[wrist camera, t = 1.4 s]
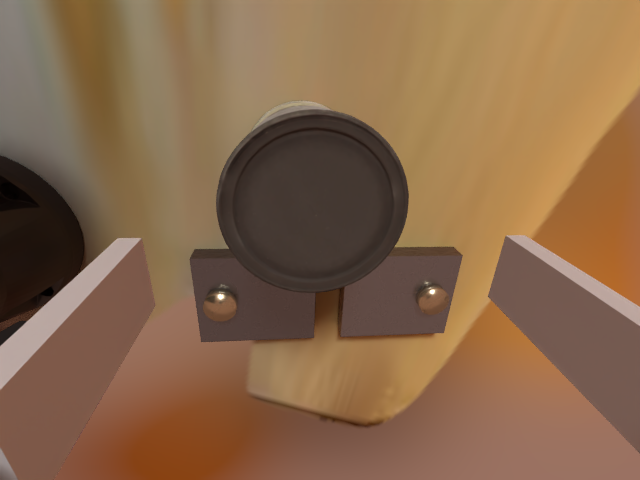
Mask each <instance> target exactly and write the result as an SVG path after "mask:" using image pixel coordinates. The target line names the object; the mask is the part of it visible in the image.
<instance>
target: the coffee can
mask: <svg viewBox="0 0 640 480" xmlns="http://www.w3.org/2000/svg"><path fill="white" fill-rule="evenodd" d="M408 198H409V193H408V186H407V180H406V176H405V173H404V170H403V167H402V165H401V163H400V160H399V158H398V156H397V155H396V153H395V152H394V150H393V149H392V147H391V146H390V144H389V143H388V142H387V141H386V140H385V139H384V138H383V137H382V136H381V135H380V134H379V133H378V132H377V131H375V130H374V129H373V128H372V127H370V126H369V125H367V124H366V123H364V122H362V121H360V120H358V119H356V118H354V117H352V116H350V115H347V114H344V113H340V112H336V111H333V110H331V109H329V108H328V107H326V106H323V105H321V104H318V103H314V102H309V101H293V102H287V103H284V104H281V105H279V106H277V107H275V108H273V109H271V110H270V111H269V112H267V113H266V114H265V115H264V116H263V117H261V119H260V120H259V121H258V122H257V123H256V125H255V126H254V128H253V129H252V131H251V133H249V134H248V135H247V136H246V137H245V138H244V139H243V140H242V141H241V142H240V143H239V145H238V146H237V147H236V148H235V149H234V151H233V152H232V154H231V155H230V157H229V158H228V160H227V162H226V164H225V166H224V168H223V171H222V173H221V176H220V180H219V185H218V190H217V199H216V208H217V217H218V222H219V226H220V230H221V232H222V235H223V238H224V240H225V242H226V244H227V246H228V247H229V249H230V251H231V252H232V254H233V255H234V257H235V258H236V259H237V261H238V262H239V263H240V264H241V265H242V266H243V267H244V268H245V269H246V270H248V271H249V272H250V273H251V274H253V275H254V276H255V277H257V278H259V279H260V280H262V281H264V282H266V283H268V284H270V285H272V286H275V287H278V288H281V289H284V290H288V291H293V292H299V293H319V292H327V291H331V290H336V289H339V288H342V287H345V286H348V285H350V284H352V283H355V282H357V281H359V280H361V279H362V278H364V277H365V276H367V275H368V274H370V273H371V272H372V271H373V270H375V269H376V268H377V267H378V266H379V265H380V264H381V263H382V262H383V261H384V260H385V259H386V257H387V256H388V255H389V254H390V253H391V251H392V250H393V248H394V246H395V245H396V243H397V242H398V240H399V238H400V235H401V233H402V231H403V228H404V225H405V221H406V218H407V212H408Z"/></svg>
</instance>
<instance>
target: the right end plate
mask: <svg viewBox="0 0 640 480" xmlns="http://www.w3.org/2000/svg"><path fill="white" fill-rule="evenodd" d="M462 256H463V255H462V254H460V253H459V252H458V251H457V250H456V249H455V248H454V247H398V248H393V250H392V251H391V253H390V254H389V255H388V256H387V257H386V259H385V260H384V261H383V262H382V263H381V264H380V265H379V266H378V267H377V268H376V269H375V270H373V271H372V272H371V273H370V274H368V275H367V276H365V277H364V278H362V279H361V280H359V281H357V282H355V283H352V284H350V285H348V286H345V287H342V288H341V292H340V305H339V318H338V327H339V332H340V336H341V337H348V336H374V335H400V334H427V333H444V330H445V326H446V322H447V318H448V313H449V309H450V305H451V301H452V297H453V293H454V289H455V285H456V281H457V276H458V272H459V268H460V264H461V260H462Z"/></svg>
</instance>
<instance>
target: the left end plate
mask: <svg viewBox="0 0 640 480" xmlns="http://www.w3.org/2000/svg"><path fill="white" fill-rule="evenodd" d="M190 265H191V272H192V279H193V286H194V293H195V300H196V308H197V314H198V322H199V329H200V336H201V342H213V341H214V342H215V341H241V340H268V339H295V338H314V318H315V293H299V292H293V291H288V290H284V289H281V288H278V287H275V286H272V285H270V284H268V283H266V282H264V281H262V280H260V279H259V278H257V277H255V276H254V275H253V274H251V273H250V272H249V271H248V270H246V269H245V268H244V267H243V266H242V265H241V264H240V263H239V262H238V261H237V259H236V258H235V257H234V255H233V254H232V252H231V251H230V249H195V250H194V252H193V254H192V255H191V257H190Z"/></svg>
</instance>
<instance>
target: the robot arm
mask: <svg viewBox="0 0 640 480" xmlns="http://www.w3.org/2000/svg"><path fill="white" fill-rule="evenodd" d="M83 252H84V246H83V238H82V233H81V230H80V227H79V224H78V222H77V220H76V218H75V216H74V214H73V212H72V211H71V209H70V208H69V206H68V205H67V203H66V202H65V201H64V199H63V198H62V197H61V196H60V195H59V194H58V193H57V192H56V191H55V190H54V188H53V187H51V186H50V185H49V184H48V183H47V182H46V181H44V180H43V179H42V178H41V177H39V176H38V175H37V174H35V173H34V172H32V171H31V170H29V169H28V168H26V167H24V166H22V165H20V164H19V163H17V162H15V161H12V160H10V159H8V158H6V157H3V156H0V323H1V322H3V321H6V320H8V319H11V318H13V317H16V316H18V315H20V314H23V313H25V312H28V311H30V310H33V309H35V308H38V307H40V306H42V305H43V304H45V303H47V302H48V301H49V302H48V303H47V304H46V305H45V306H43V307H42V308H41V309H40V310H39V311H38V312H37V313H36V314H35V315H34V316H33V317H32V318H30V319H29V320H28V321H19V322H17V323H15V324H14V325H12V326H10V327H8V328H6V329H5V330H3V331H1V332H0V480H54V479H55V477H56V475H57V474H58V472H59V470H60V469H61V467H62V465H63V463H64V461H65V460H66V458H67V456H68V455H69V453H70V451H71V450H72V448H73V446H74V445H75V443H76V441H77V439H78V438H79V436H80V434H81V432H82V431H83V429H84V427H85V425H86V424H87V422H88V421H89V419H90V417H91V415H92V414H93V412H94V410H95V409H96V407H97V405H98V403H99V402H100V400H101V398H102V396H103V395H104V393H105V391H106V389H107V388H108V386H109V384H110V383H111V381H112V379H113V378H114V376H115V374H116V372H117V371H118V369H119V367H120V365H121V364H122V362H123V361H124V359H125V357H126V355H127V353H128V352H129V350H130V348H131V347H132V345H133V343H134V342H135V340H136V338H137V336H138V335H139V333H140V331H141V330H142V328H143V326H144V324H145V323H146V321H147V319H148V318H149V316H150V314H151V312H152V311H153V309H154V307H155V306H156V305H155V301H154V296H153V291H152V286H151V281H150V276H149V271H148V266H147V261H146V256H145V252H144V247H143V242H142V238H117V239H116V240H115V241H114V242H113V243H112V244H111V245H110V246H109V247H108V248H107V249H105V250H104V251H103V252H102V253H101V254H100V255H99V256H98V257H97V258H96V259H95V260H93V261H92V262H91V263H90V264H89V265H88V266H87V267H86V268H85V269H84V270H83V271H82V272H80V273H79V274H78V275H77V273H78V271H79V269H80V267H81V264H82V260H83ZM76 275H77V276H76ZM75 276H76V277H75ZM488 297H489V298H490V299H491V300H492V301H493V302H494V303H495V304H496V305H497V306H498V307H499V308H500V310H501V311H502V312H503V313H504V314H505V315H506V316H507V317H508V318H509V319H510V320H511V321H512V322H513V323H514V324H515V325H516V326H517V327H518V328H519V329H520V330H521V331H522V332H523V333H524V334H525V335H526V336H527V337H528V338H529V339H530V340H531V342H532V343H533V344H534V345H535V346H536V347H537V348H538V349H539V350H540V351H541V352H542V353H543V354H544V355H545V356H546V357H547V358H548V359H549V360H550V361H551V362H552V363H553V364H554V365H555V366H556V367H557V368H558V369H559V370H560V372H561V373H562V374H563V375H564V376H565V377H566V378H567V379H568V380H569V381H570V382H571V383H572V384H573V385H574V386H575V387H576V388H577V389H578V390H579V391H580V392H581V393H582V394H583V395H584V396H585V397H586V398H587V399H588V400H589V402H590V403H591V404H592V405H593V406H594V407H595V408H596V409H597V410H598V411H599V412H600V413H601V414H602V415H603V416H604V417H605V418H606V419H607V420H608V421H609V422H610V423H611V424H612V425H613V426H614V427H615V428H616V429H617V430H618V431H619V432H620V433H621V435H623V437H624V438H625V439H626V440H627V441H628V442H629V443H630V444H631V445H632V446H633V447H634V448H635V449H636V450H637V451H638V452H639V453H640V307H639V306H637V305H636V304H634V303H632V302H631V301H629V300H628V299H626V298H624V297H623V296H621V295H620V294H618V293H616V292H615V291H613V290H612V289H610V288H608V287H607V286H605V285H603V284H602V283H600V282H599V281H597V280H595V279H594V278H592V277H591V276H589V275H587V274H586V273H584V272H583V271H581V270H579V269H578V268H576V267H575V266H573V265H571V264H570V263H568V262H566V261H565V260H563V259H562V258H560V257H559V256H557V255H555V254H554V253H552V252H551V251H549V250H547V249H546V248H544V247H542V246H541V245H539V244H538V243H536V242H534V241H533V240H531V239H530V238H528V237H526V236H525V235H516V236H506V237H505V240H504V244H503V247H502V250H501V254H500V257H499V261H498V264H497V267H496V271H495V274H494V278H493V281H492V284H491V288H490V291H489V295H488Z"/></svg>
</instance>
